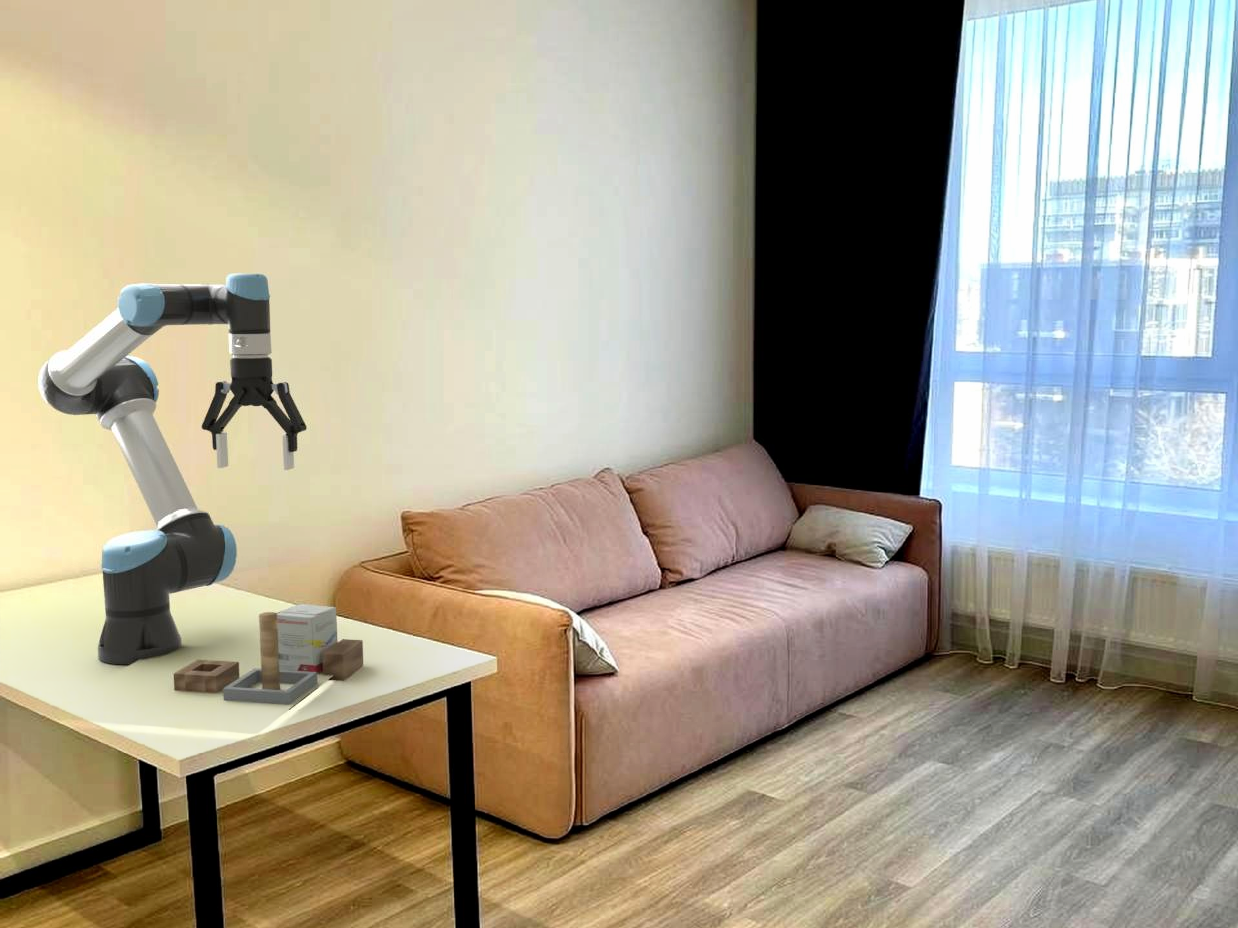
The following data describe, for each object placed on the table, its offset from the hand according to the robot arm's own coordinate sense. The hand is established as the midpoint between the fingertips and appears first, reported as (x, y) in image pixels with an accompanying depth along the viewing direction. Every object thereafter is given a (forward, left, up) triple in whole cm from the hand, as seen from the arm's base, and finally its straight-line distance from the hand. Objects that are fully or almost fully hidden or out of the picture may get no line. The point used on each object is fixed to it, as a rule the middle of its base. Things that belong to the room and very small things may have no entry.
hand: (255, 468), depth 220 cm
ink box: (+13, -8, -37) cm, 40 cm away
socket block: (0, -21, -37) cm, 42 cm away
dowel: (+13, -23, -36) cm, 44 cm away
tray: (+13, -23, -37) cm, 45 cm away
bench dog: (+20, -8, -37) cm, 43 cm away
